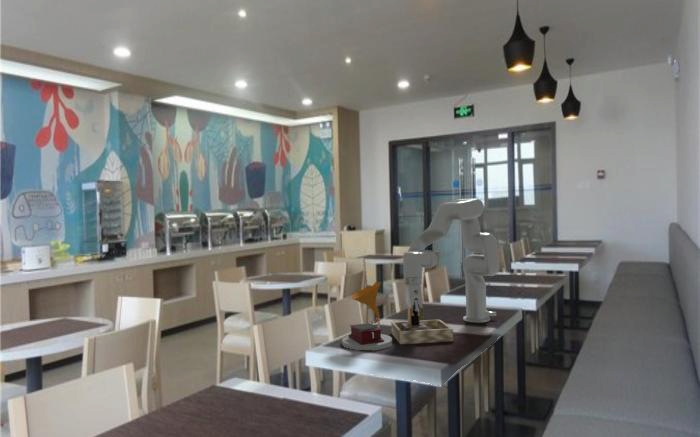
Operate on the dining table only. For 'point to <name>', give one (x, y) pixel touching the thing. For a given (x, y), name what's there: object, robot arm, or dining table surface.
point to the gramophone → (367, 325)
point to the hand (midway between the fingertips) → (413, 323)
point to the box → (423, 332)
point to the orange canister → (410, 317)
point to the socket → (406, 328)
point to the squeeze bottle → (420, 313)
